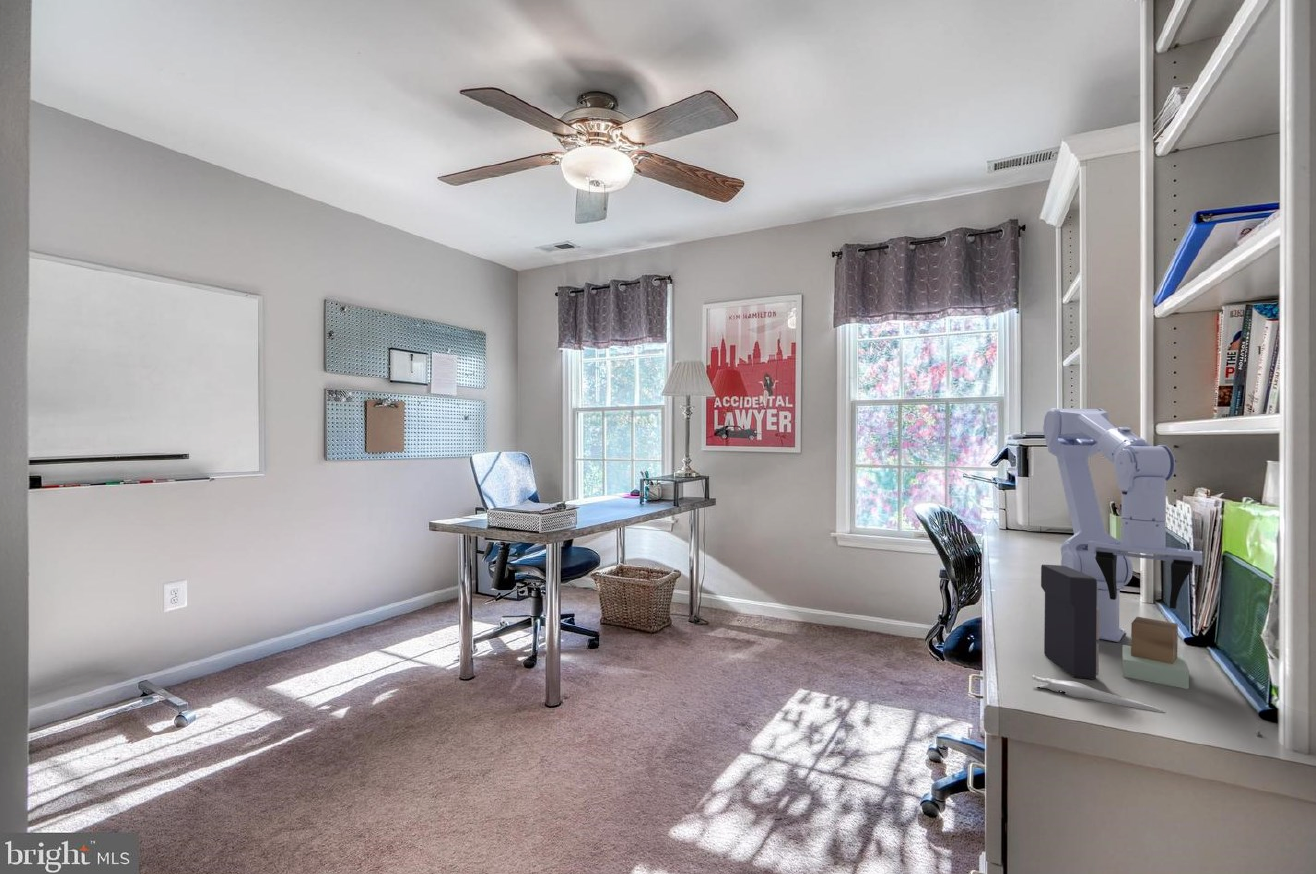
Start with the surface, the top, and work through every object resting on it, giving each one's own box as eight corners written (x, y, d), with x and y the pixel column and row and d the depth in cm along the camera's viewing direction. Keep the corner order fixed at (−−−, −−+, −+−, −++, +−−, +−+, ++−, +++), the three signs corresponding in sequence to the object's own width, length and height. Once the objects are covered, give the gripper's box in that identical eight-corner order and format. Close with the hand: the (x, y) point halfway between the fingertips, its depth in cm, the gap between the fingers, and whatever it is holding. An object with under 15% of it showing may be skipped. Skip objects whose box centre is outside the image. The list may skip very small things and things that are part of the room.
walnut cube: (1136, 647, 99) (1137, 616, 98) (1177, 656, 95) (1177, 623, 95) (1130, 655, 95) (1131, 623, 95) (1173, 664, 91) (1173, 630, 91)
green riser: (1122, 663, 100) (1122, 644, 100) (1183, 674, 96) (1183, 655, 96) (1122, 679, 93) (1122, 659, 93) (1188, 692, 89) (1189, 671, 89)
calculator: (1102, 681, 91) (1103, 579, 91) (1069, 678, 92) (1070, 577, 92) (1068, 656, 102) (1069, 565, 102) (1039, 654, 103) (1040, 563, 103)
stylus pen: (1030, 688, 87) (1031, 675, 87) (1031, 683, 90) (1032, 670, 90) (1166, 722, 79) (1167, 707, 79) (1164, 715, 81) (1165, 701, 81)
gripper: (1085, 516, 103) (1084, 598, 102) (1201, 525, 93) (1200, 616, 93) (1092, 514, 108) (1091, 592, 108) (1203, 522, 98) (1202, 608, 98)
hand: (1142, 603), depth 100 cm, fingers open, 7 cm apart
